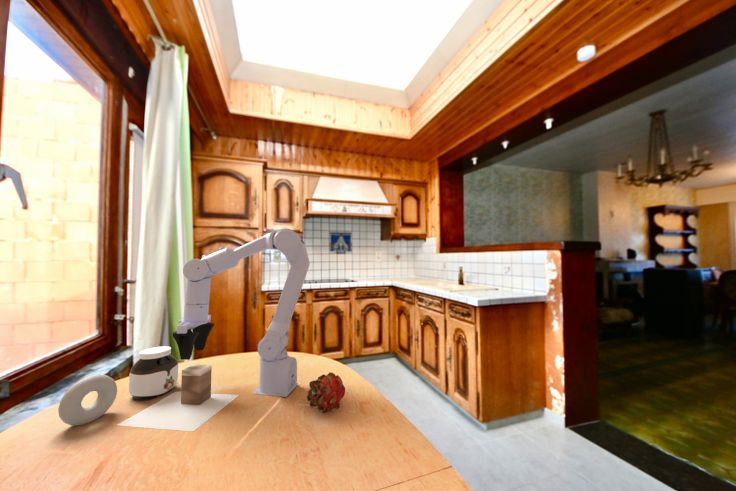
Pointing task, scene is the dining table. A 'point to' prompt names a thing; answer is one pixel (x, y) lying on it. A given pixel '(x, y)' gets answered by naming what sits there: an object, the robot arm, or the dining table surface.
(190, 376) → the walnut block
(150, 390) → the spread jar
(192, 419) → the mat
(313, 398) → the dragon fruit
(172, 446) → the dining table surface
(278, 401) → the dining table surface
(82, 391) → the donut
